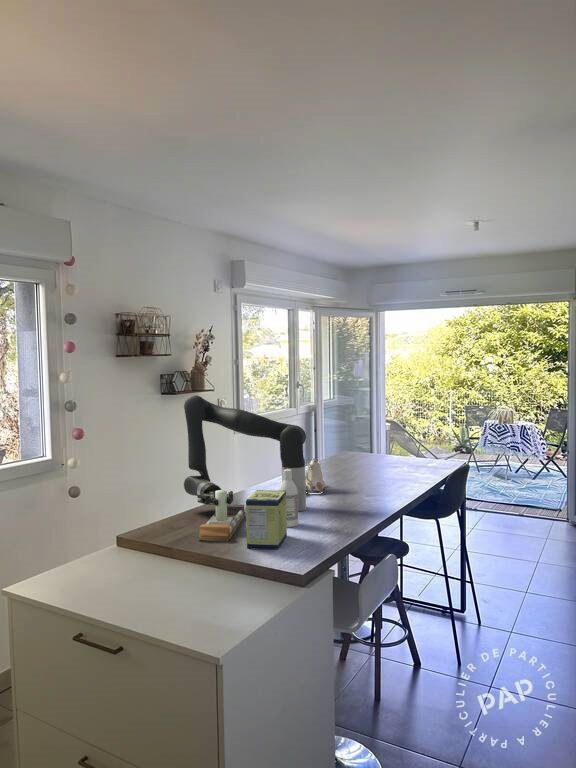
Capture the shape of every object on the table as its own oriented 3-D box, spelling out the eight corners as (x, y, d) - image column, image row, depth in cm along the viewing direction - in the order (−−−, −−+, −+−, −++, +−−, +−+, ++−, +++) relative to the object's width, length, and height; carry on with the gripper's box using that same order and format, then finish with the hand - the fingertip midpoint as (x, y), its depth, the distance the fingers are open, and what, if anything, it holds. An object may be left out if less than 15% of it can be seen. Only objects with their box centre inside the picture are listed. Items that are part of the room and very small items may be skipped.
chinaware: (305, 488, 281) (301, 453, 281) (338, 487, 274) (333, 451, 274) (279, 501, 256) (275, 463, 256) (314, 500, 248) (309, 461, 249)
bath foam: (301, 526, 210) (300, 470, 209) (284, 528, 207) (283, 472, 206) (293, 521, 216) (292, 467, 215) (275, 524, 213) (274, 469, 212)
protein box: (287, 535, 199) (286, 490, 198) (278, 550, 183) (277, 500, 183) (257, 534, 201) (256, 489, 200) (246, 548, 185) (245, 500, 185)
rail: (219, 515, 226) (219, 504, 226) (245, 516, 225) (244, 504, 225) (198, 541, 194) (198, 527, 194) (228, 541, 193) (228, 527, 193)
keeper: (213, 522, 210) (213, 489, 209) (233, 522, 209) (232, 489, 209) (209, 527, 204) (209, 493, 204) (229, 527, 203) (228, 493, 203)
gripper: (190, 484, 216) (203, 493, 201) (227, 480, 222) (242, 489, 206) (190, 504, 217) (204, 515, 201) (227, 500, 222) (243, 510, 207)
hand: (223, 502), depth 204 cm, fingers closed on keeper, 4 cm apart
